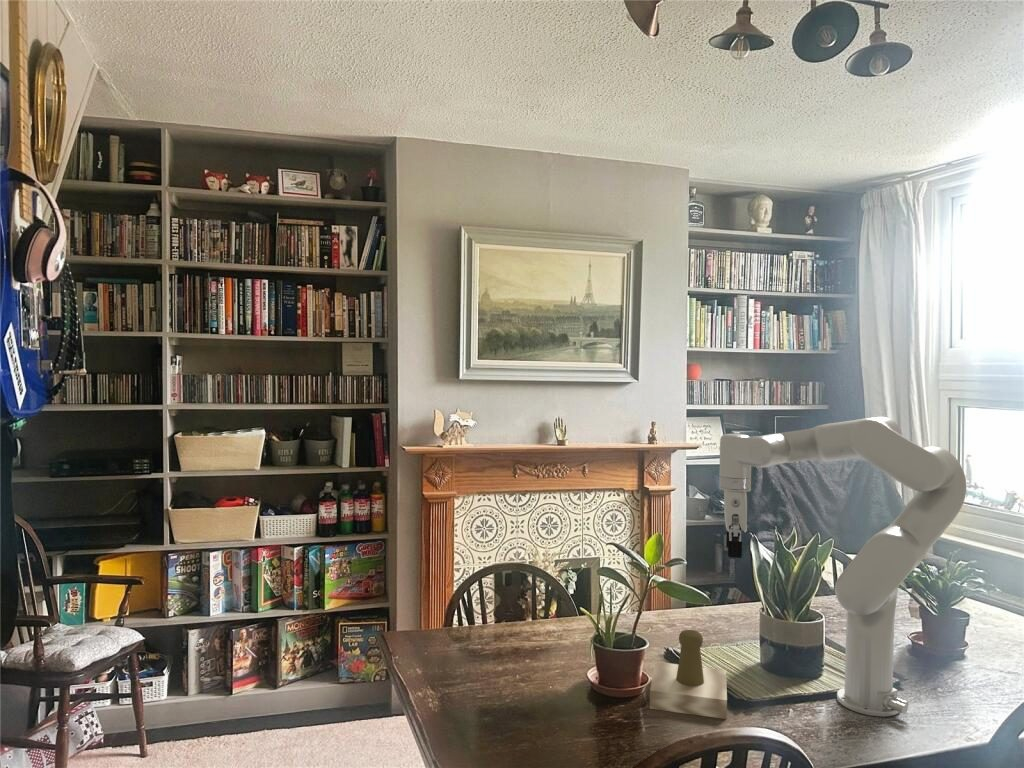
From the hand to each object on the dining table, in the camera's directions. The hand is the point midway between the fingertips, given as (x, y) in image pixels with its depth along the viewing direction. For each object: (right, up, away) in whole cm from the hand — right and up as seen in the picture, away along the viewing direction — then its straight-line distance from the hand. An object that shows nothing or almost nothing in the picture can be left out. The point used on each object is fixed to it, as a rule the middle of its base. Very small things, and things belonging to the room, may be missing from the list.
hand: (733, 552), depth 181 cm
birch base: (-15, -28, -18) cm, 37 cm away
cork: (-15, -25, -18) cm, 34 cm away
